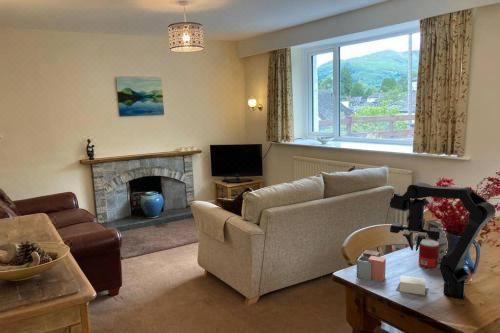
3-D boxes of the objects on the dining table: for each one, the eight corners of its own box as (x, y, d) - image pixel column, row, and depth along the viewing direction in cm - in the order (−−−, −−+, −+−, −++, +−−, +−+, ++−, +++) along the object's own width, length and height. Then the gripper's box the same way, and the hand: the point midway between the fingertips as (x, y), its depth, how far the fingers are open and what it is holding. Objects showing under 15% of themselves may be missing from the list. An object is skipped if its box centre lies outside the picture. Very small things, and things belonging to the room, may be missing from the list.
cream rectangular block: (424, 288, 160) (425, 278, 159) (424, 295, 154) (425, 285, 153) (400, 284, 163) (400, 275, 162) (399, 291, 157) (400, 281, 157)
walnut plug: (379, 271, 176) (379, 252, 175) (376, 275, 173) (377, 255, 171) (365, 269, 179) (365, 249, 178) (362, 272, 176) (363, 253, 174)
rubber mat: (429, 290, 159) (429, 288, 159) (425, 299, 152) (425, 297, 152) (399, 283, 165) (399, 282, 165) (395, 292, 158) (395, 290, 158)
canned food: (439, 269, 177) (441, 245, 175) (420, 268, 178) (421, 245, 176) (435, 262, 184) (436, 239, 182) (417, 261, 186) (417, 238, 184)
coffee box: (448, 257, 189) (449, 224, 186) (436, 259, 187) (438, 226, 184) (434, 250, 197) (436, 219, 194) (423, 252, 196) (424, 220, 193)
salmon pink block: (385, 278, 170) (385, 258, 168) (382, 282, 166) (383, 261, 165) (370, 275, 173) (371, 255, 171) (368, 279, 170) (368, 259, 168)
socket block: (377, 270, 177) (378, 253, 176) (370, 280, 168) (371, 262, 167) (364, 268, 180) (364, 251, 179) (356, 277, 171) (356, 260, 170)
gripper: (444, 211, 164) (442, 247, 167) (396, 206, 174) (395, 240, 177) (440, 219, 155) (438, 257, 158) (390, 212, 165) (389, 249, 168)
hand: (414, 250), depth 165 cm, fingers closed
